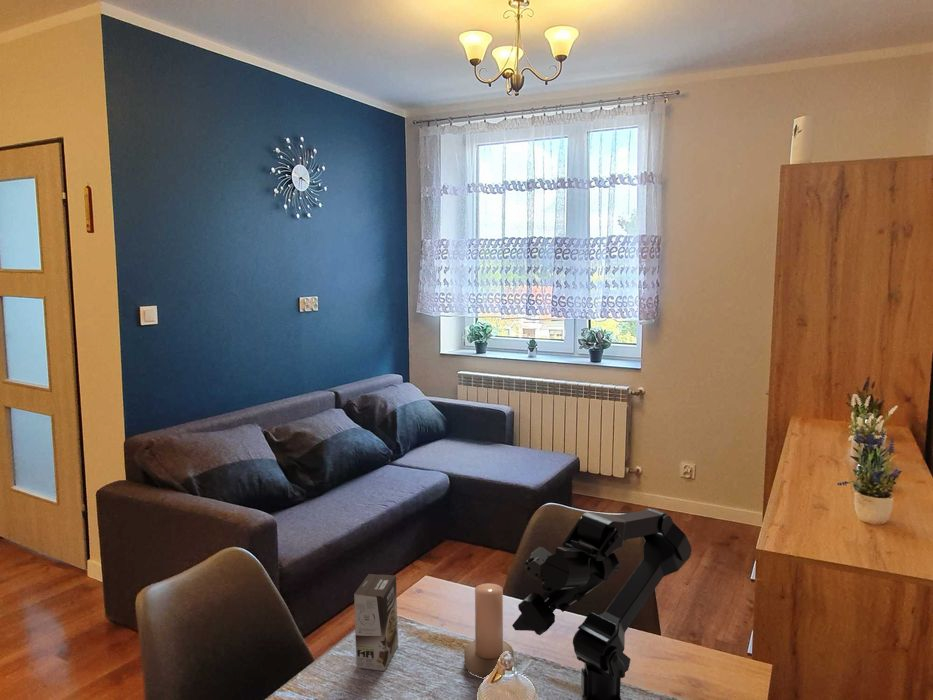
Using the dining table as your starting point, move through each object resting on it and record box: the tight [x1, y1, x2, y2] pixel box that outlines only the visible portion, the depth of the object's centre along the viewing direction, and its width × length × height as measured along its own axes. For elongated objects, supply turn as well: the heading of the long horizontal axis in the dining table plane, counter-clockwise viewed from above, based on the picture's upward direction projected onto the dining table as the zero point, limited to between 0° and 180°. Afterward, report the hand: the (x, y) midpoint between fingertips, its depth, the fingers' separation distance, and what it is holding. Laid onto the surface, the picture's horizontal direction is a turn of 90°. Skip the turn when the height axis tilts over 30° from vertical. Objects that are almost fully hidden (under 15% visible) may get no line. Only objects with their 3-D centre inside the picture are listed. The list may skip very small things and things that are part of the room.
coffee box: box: [353, 573, 399, 672], centre depth 136 cm, size 9×6×16 cm
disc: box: [463, 639, 514, 678], centre depth 134 cm, size 10×10×3 cm
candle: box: [474, 582, 504, 659], centre depth 133 cm, size 6×6×13 cm
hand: (525, 616), depth 127 cm, fingers open, 9 cm apart
